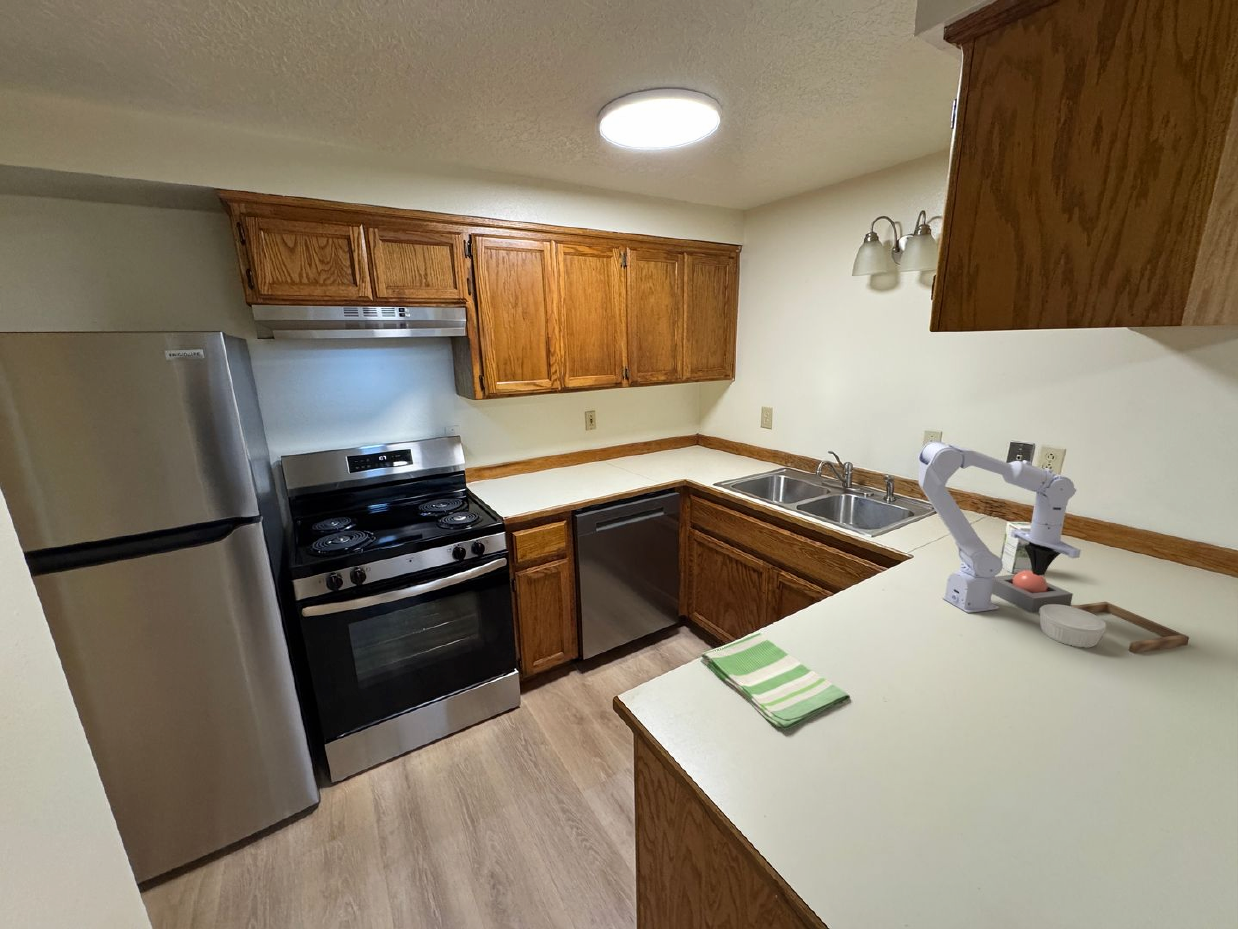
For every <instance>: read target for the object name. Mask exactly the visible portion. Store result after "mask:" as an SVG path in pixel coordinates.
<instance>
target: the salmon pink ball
mask: <svg viewBox="0 0 1238 929" xmlns="http://www.w3.org/2000/svg"><path fill="white" fill-rule="evenodd" d="M1047 583H1048V582H1047V580H1046V578H1045V577H1044V575H1040V576H1038V575H1035V574H1033V572H1032V571H1021V572H1019V573H1017V574H1016V575H1015V576H1014V578H1013V585H1015V586H1017V587H1019V588H1022V589H1024V590H1026V591H1028V592H1030V593H1040V592H1046V591H1047V587H1048V586H1047Z"/></svg>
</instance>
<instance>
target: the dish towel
mask: <svg viewBox="0 0 1238 929" xmlns="http://www.w3.org/2000/svg"><path fill="white" fill-rule="evenodd" d="M748 636H749V637H748ZM748 636H745V637H743V638H740V639H737V640H735V641H732V642H729V643H726V644H725V645H722V646H719V647H716V648H713V649H711V650H708V651H705V652H702V653H701V657H702V659H700V662H702V663H704V664H705V665H706V666H707V667H708V669H710V670H711V671H712V672H713V673H714V674H716V676H718V677H720V679H721V680H723V681H724V682H725V683H726V684H728V685H729V686H730V688H732V689H733V690H734V691H735V692H736V693H737V694H738V695H740V696H741V697H742V698H744V699H745V700H746V701H747V702H749V704H750V705H752V707H753V708H754V709H755V710H756V711H758V712H759V713H760V714H761V715H762V716H763V717H764V718H765V719H766V720H768V721H769V722H771V723H772V724H774V725H775V726H776V727H780V728H781V729H782V730H783V731H787V730H788V729H791V728H793V727H795V726H797V725H799V724H801V723H803V722H804V721H807V720H808V719H810V718H813V717H814V716H816V715H817V714H820V713H821V712H823V711H824V710H826V709H827V708H829V707H831V706H832V708H835V707H837V706H839V705H841V704H844V703H846V702H848V701H849V700H850V698H851V696H850V695H849V694H848V693H847V692H846V691H844V690H842V689H841V688H840V687H837V686H836V685H835V684H833V683H831V682H830V681H829V680H827V679H825V678H824V677H822V676H821V675H819V674H817V673H816V672H815V671H813V670H811V669H810V668H808V667H807V666H805V665H804V664H802V663H801V662H799V661H798V660H796V659H795V658H794V657H792V656H791V655H789V654H788V653H787V652H785V651H784V650H783V649H781V647H779V646H777V645H776V644H774V643H773V642H772V641H770V640H769V639H768V638H766V637H764V636H763V635H762V634H761V632H759V631H758V632H755V633H753V634H751V635H748ZM723 647H724V648H723ZM721 648H722V649H721ZM719 649H720V650H719ZM716 650H717V651H716ZM714 651H715V652H714ZM840 701H841V702H840Z"/></svg>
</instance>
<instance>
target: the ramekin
mask: <svg viewBox="0 0 1238 929" xmlns="http://www.w3.org/2000/svg"><path fill="white" fill-rule="evenodd" d="M1070 606H1071V605H1070ZM1070 606H1066V605H1057V604H1049V605H1044V606H1042V607H1041V608H1040V610H1039V612H1038V613H1039V616H1040V628H1041V631H1042V632H1043V633H1044V634H1045V636H1047V637H1049V638H1050V639H1052V638H1053V639H1052V640H1054V639H1055V640H1054V641H1056V642H1058V641H1059V642H1058V643H1061V644H1063V643H1064V645H1067V644H1068V645H1067V646H1070V645H1072V646H1071V647H1074V646H1076V647H1075V648H1081V647H1085V648H1086V649H1088V648H1089V649H1090V648H1092V647H1094V646H1096V645H1098V643H1099V642H1100V640H1101V638H1102V636H1103V633H1104V632H1105V631H1107V630H1106V629H1107V624H1106V623H1107V622H1105V621H1104V620H1103V619H1102V618H1101V617H1099V616H1098V615H1096V614H1094V613H1089V612H1087V611H1084V610H1081V609H1078V608H1074V607H1070ZM1085 648H1084V649H1085Z"/></svg>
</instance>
